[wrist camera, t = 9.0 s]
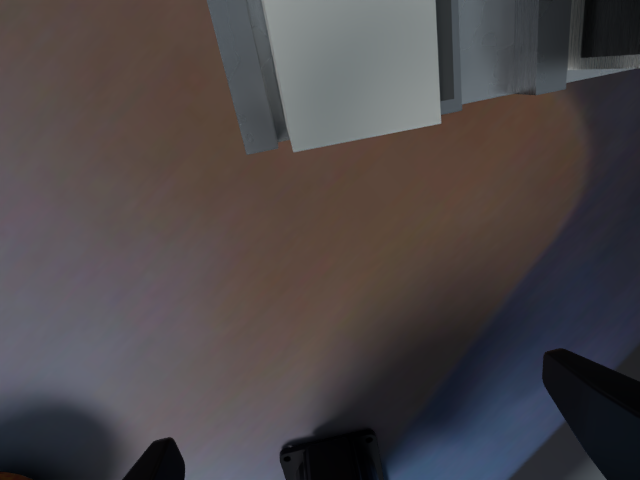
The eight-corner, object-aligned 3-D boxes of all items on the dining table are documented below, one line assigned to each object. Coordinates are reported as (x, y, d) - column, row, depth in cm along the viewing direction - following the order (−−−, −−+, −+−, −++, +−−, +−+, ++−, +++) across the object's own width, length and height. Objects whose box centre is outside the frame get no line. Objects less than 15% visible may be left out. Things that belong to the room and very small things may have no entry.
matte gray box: (257, -19, 14) (247, -82, 8) (384, -42, 14) (456, -118, 8) (286, 125, 16) (293, 152, 10) (397, 104, 16) (462, 118, 10)
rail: (660, 55, 19) (932, 40, 11) (251, 139, 18) (236, 185, 10) (683, -100, 16) (1051, -258, 9) (215, -10, 16) (159, -93, 8)
